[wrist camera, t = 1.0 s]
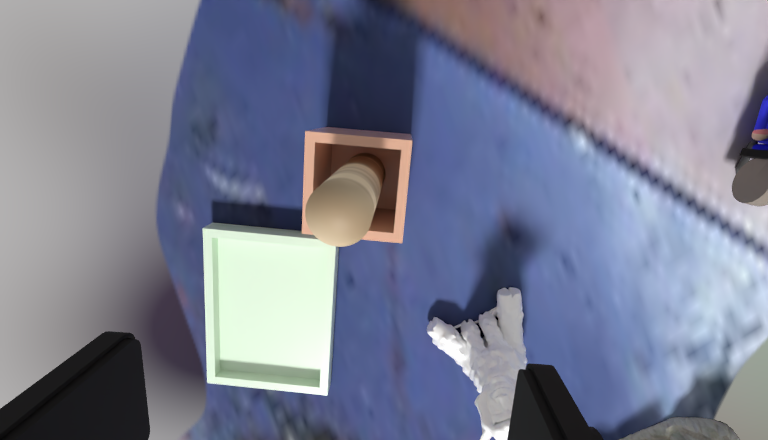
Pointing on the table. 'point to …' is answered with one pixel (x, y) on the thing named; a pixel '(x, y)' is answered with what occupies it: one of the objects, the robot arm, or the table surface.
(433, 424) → the table surface
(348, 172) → the dowel
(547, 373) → the robot arm
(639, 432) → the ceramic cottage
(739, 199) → the figurine character
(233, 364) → the tray
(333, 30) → the table surface
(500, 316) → the sitting furry creature
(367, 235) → the pink open box
